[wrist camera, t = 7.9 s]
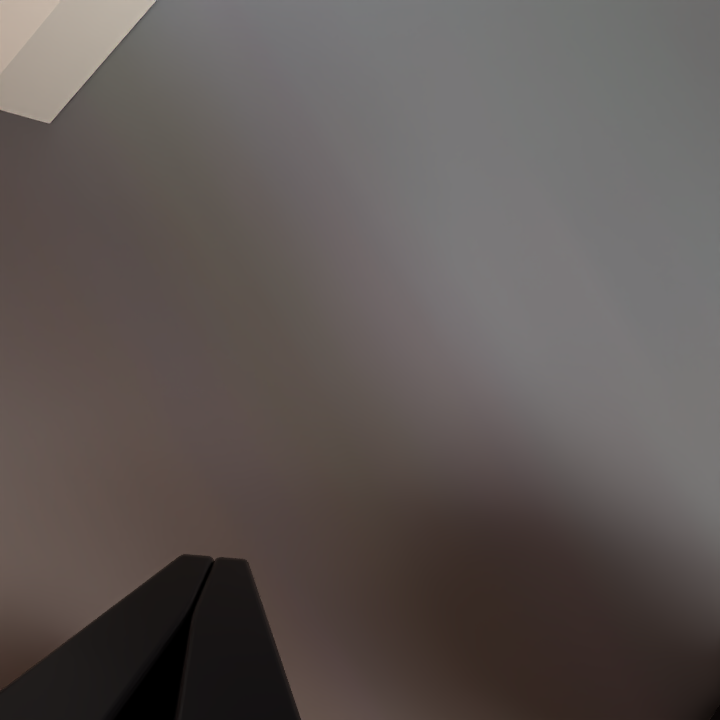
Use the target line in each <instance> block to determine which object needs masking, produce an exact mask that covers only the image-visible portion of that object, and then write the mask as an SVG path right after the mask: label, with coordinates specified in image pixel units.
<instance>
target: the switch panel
mask: <svg viewBox="0 0 720 720" xmlns="http://www.w3.org/2000/svg"><path fill="white" fill-rule="evenodd" d="M155 1H156V0H0V110H2V111H5V112H9V113H13V114H16V115H20V116H24V117H27V118H31V119H34V120H38V121H42V122H45V123H49V124H50V123H51V122H52V120H53V119H54V118H55V117H56V116H57V115H58V114H59V112H60V111H61V110H62V109H63V108H64V107H65V105H66V104H67V103H68V102H69V101H70V100H71V98H72V97H73V96H74V95H75V94H76V93H77V92H78V90H79V89H80V88H81V87H82V86H83V85H84V83H85V82H86V81H87V80H88V79H89V78H90V77H91V75H92V74H93V73H94V72H95V71H96V70H97V68H98V67H99V66H100V65H101V64H102V63H103V62H104V60H105V59H106V58H107V57H108V56H109V55H110V53H111V52H112V51H113V50H114V49H115V48H116V46H117V45H118V44H119V43H120V42H121V41H122V40H123V38H124V37H125V36H126V35H127V34H128V33H129V31H130V30H131V29H132V28H133V27H134V26H135V25H136V23H137V22H138V21H139V20H140V19H141V18H142V16H143V15H144V14H145V13H146V12H147V11H148V9H149V8H150V7H151V6H152V5H153V4H154V3H155Z"/></svg>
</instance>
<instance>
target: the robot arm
mask: <svg viewBox="0 0 720 720" xmlns="http://www.w3.org/2000/svg"><path fill="white" fill-rule="evenodd" d="M0 720H301V718H300V715H299V712H298V709H297V706H296V703H295V700H294V697H293V694H292V691H291V688H290V685H289V682H288V679H287V676H286V673H285V670H284V667H283V664H282V661H281V658H280V655H279V652H278V649H277V646H276V643H275V640H274V637H273V634H272V631H271V628H270V625H269V622H268V620H267V617H266V614H265V611H264V608H263V605H262V602H261V599H260V596H259V593H258V590H257V587H256V584H255V581H254V578H253V575H252V572H251V569H250V566H249V563H248V562H247V561H246V560H245V559H237V558H224V557H219V558H217V559H216V560H215V561H214V560H213V558H212V557H210V556H201V555H189V554H184V555H181V556H179V557H178V558H176V559H175V560H174V561H172V562H171V563H170V564H168V565H167V566H166V567H164V568H163V569H162V570H160V571H159V572H158V573H157V574H155V575H154V576H153V577H151V578H150V579H149V580H147V581H146V582H145V583H143V584H142V585H141V586H139V587H138V588H137V589H135V590H134V591H133V592H131V593H130V594H129V595H127V596H126V597H125V598H123V599H122V600H121V601H119V602H118V603H117V604H115V605H114V606H113V607H111V608H110V609H109V610H107V611H106V612H105V613H103V614H102V615H101V616H99V617H98V618H97V619H95V620H94V621H93V622H91V623H90V624H89V625H87V626H86V627H85V628H83V629H82V630H81V631H79V632H78V633H77V634H75V635H74V636H73V637H71V638H70V639H69V640H67V641H66V642H65V643H64V644H62V645H61V646H60V647H58V648H57V649H56V650H54V651H53V652H52V653H50V654H49V655H48V656H46V657H45V658H44V659H42V660H41V661H40V662H38V663H37V664H36V665H34V666H33V667H32V668H30V669H29V670H28V671H26V672H25V673H24V674H22V675H21V676H20V677H18V678H17V679H16V680H14V681H13V682H12V683H10V684H9V685H8V686H6V687H5V688H4V689H2V690H1V691H0ZM710 720H720V705H719V707H718V708H717V710H716V711H715V713H714V714H713V716H712V717H711V719H710Z"/></svg>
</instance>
